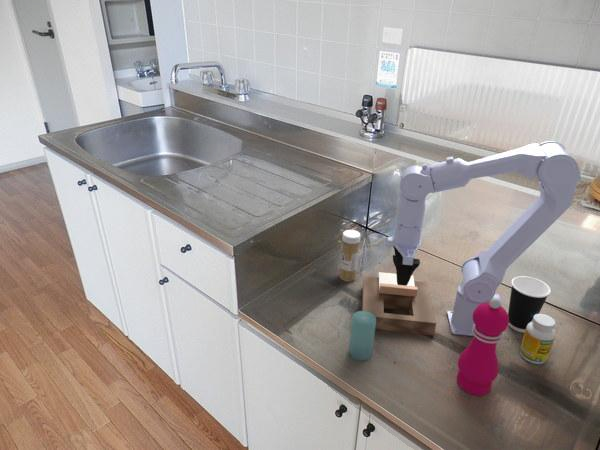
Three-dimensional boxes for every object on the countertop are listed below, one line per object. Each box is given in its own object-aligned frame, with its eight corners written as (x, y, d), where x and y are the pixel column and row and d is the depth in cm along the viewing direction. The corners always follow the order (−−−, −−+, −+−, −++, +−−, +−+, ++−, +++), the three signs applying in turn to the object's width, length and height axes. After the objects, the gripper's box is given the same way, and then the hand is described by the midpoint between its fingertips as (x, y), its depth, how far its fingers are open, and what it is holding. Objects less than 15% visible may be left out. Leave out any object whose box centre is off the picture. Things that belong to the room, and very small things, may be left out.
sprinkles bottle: (335, 276, 121) (338, 232, 114) (348, 271, 123) (352, 227, 117) (347, 284, 117) (351, 239, 111) (360, 278, 120) (364, 234, 114)
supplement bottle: (531, 344, 98) (542, 308, 94) (552, 360, 94) (565, 324, 90) (513, 351, 96) (524, 315, 92) (534, 368, 92) (546, 331, 88)
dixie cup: (500, 311, 109) (510, 272, 104) (536, 319, 106) (549, 280, 101) (500, 331, 102) (512, 291, 97) (539, 340, 99) (552, 299, 94)
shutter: (412, 278, 114) (414, 268, 113) (415, 299, 106) (417, 289, 105) (378, 274, 115) (379, 265, 114) (378, 295, 107) (380, 285, 106)
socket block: (426, 293, 114) (428, 282, 113) (433, 335, 100) (436, 323, 99) (362, 287, 116) (363, 276, 115) (361, 327, 102) (362, 315, 100)
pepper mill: (472, 402, 84) (495, 316, 75) (446, 375, 90) (465, 292, 81) (501, 391, 86) (527, 306, 77) (474, 365, 92) (495, 284, 83)
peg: (372, 345, 97) (376, 312, 93) (372, 361, 93) (376, 327, 88) (349, 343, 97) (352, 309, 93) (348, 359, 93) (351, 324, 89)
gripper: (388, 206, 103) (382, 257, 109) (391, 236, 90) (384, 292, 97) (420, 209, 102) (412, 260, 109) (427, 239, 90) (417, 295, 96)
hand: (401, 275), depth 103 cm, fingers open, 6 cm apart
